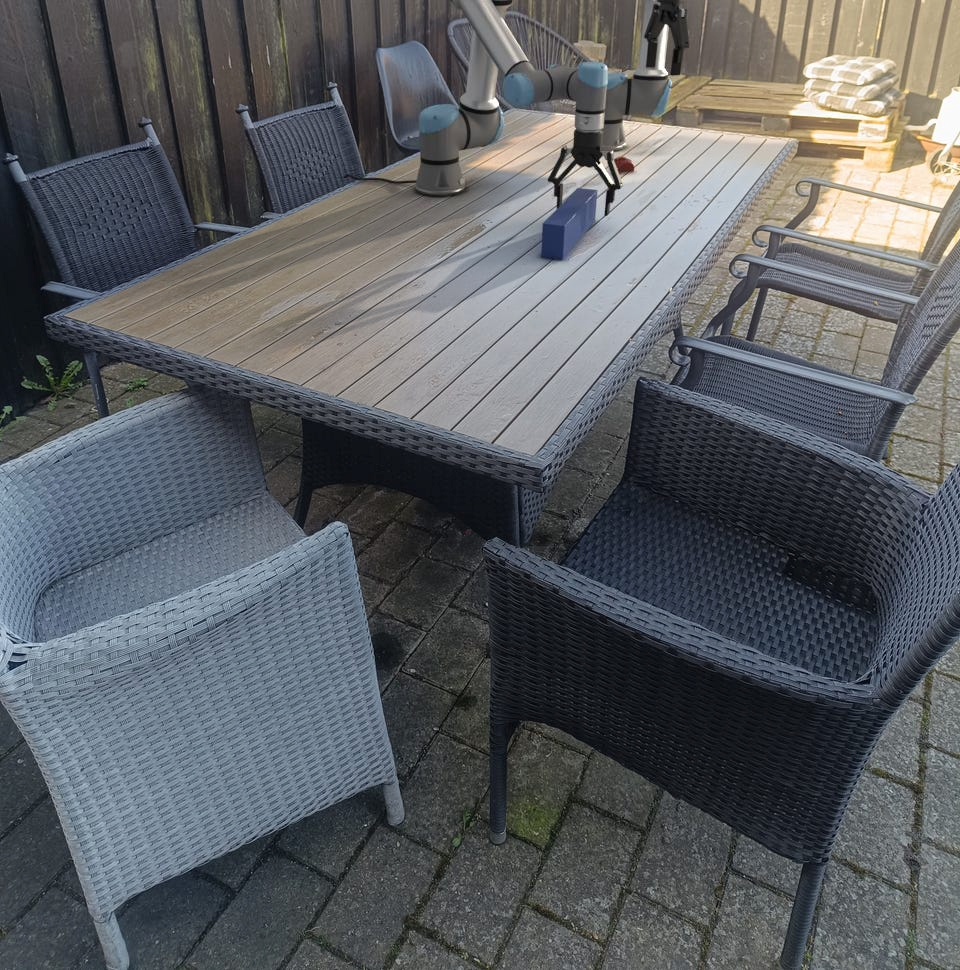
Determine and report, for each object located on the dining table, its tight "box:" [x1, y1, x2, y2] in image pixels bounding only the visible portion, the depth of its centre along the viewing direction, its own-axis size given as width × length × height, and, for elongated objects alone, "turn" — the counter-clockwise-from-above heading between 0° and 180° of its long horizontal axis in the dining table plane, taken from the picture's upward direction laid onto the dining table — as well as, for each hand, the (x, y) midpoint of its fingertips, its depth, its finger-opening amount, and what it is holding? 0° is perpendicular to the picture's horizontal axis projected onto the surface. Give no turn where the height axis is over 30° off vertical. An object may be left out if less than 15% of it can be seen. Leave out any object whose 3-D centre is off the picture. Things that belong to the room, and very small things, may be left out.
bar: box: [540, 187, 598, 261], centre depth 221 cm, size 32×6×9 cm, turn 159°
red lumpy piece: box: [614, 156, 635, 174], centre depth 274 cm, size 6×4×8 cm
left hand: (582, 211), depth 230 cm, fingers open, 13 cm apart
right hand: (662, 71), depth 243 cm, fingers open, 13 cm apart
